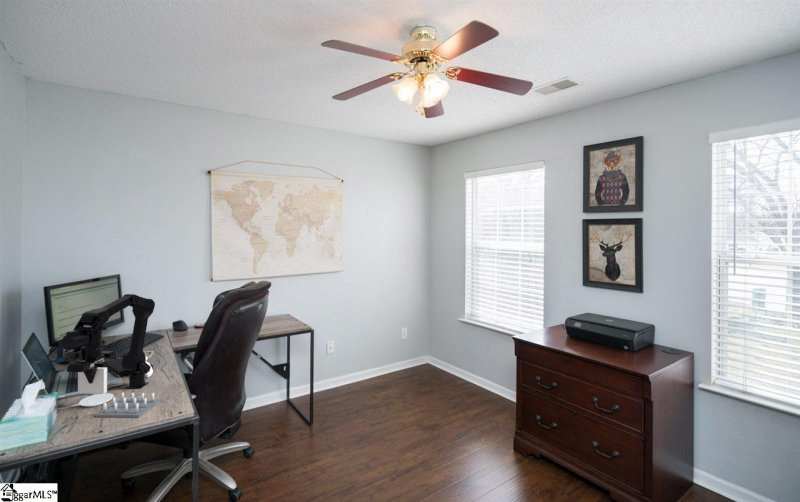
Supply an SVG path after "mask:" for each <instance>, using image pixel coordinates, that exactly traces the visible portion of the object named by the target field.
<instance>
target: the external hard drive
mask: <svg viewBox="0 0 800 502" xmlns="http://www.w3.org/2000/svg"><path fill="white" fill-rule="evenodd" d="M122 361H123V357H121V358H117V359H116V358H114V359H112V360H111V359H109V360H106V362H108V363H107V364H106V365H105V367H107V371H109V372H111V373H112V372H113V374H114V373H115V374H114V375H116V374H117V375H119V376H120V377H119V376H118V377H119V378H123V377H124V378H125V377H128V376H129V377H130V373H125V371H124V368H123V367H122V364H121V363H122ZM148 363H149V364H150V365H151V367H152V369H153V370H154V365H153V364H151V363H150V362H148ZM117 375H116V376H117Z"/></svg>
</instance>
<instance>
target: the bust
mask: <svg viewBox="0 0 800 502" xmlns="http://www.w3.org/2000/svg"><path fill="white" fill-rule="evenodd" d="M147 360H148V359H147V357H146V363H147V364H148V365H149V366H151V365H150V364H151V363H150V362H148V361H147ZM149 363H150V364H149ZM153 373H154V368H153V369H152V367H151V368H150V371H149V372H148V373H146V374H145V378H149V377H151V376H152V374H153Z"/></svg>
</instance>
